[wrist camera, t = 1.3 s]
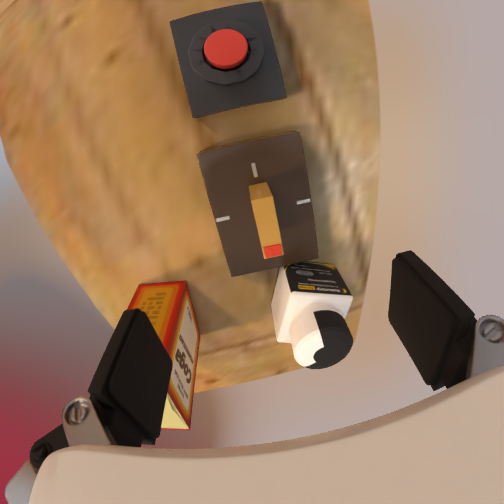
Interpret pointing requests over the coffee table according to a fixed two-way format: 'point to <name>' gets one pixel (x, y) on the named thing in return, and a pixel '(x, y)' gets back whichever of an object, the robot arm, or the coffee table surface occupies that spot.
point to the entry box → (234, 79)
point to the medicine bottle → (312, 313)
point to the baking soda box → (173, 344)
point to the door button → (226, 48)
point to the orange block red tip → (266, 220)
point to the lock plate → (240, 207)
